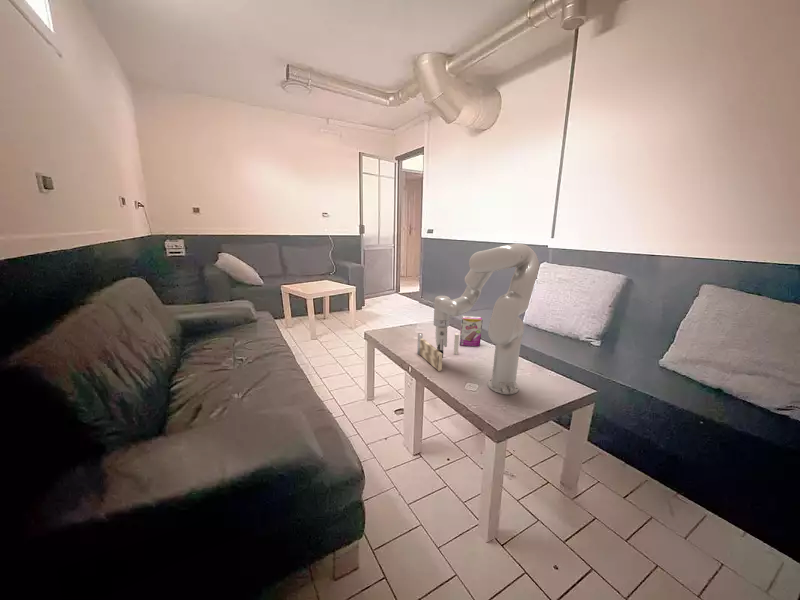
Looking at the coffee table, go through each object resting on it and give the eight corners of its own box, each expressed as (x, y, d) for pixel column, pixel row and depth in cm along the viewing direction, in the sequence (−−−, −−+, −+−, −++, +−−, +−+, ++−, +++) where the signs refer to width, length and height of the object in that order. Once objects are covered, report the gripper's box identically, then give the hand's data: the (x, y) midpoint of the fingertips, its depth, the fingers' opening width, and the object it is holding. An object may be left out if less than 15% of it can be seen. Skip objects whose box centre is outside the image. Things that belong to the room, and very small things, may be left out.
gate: (419, 354, 164) (420, 338, 161) (422, 353, 164) (422, 338, 162) (438, 371, 146) (439, 354, 144) (441, 370, 146) (442, 353, 144)
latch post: (457, 354, 165) (459, 334, 162) (453, 354, 165) (455, 334, 163) (457, 352, 167) (458, 333, 164) (453, 352, 167) (454, 333, 164)
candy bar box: (460, 346, 176) (461, 318, 172) (459, 342, 181) (461, 315, 177) (480, 347, 175) (482, 319, 171) (479, 343, 180) (481, 316, 176)
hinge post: (421, 354, 164) (422, 334, 161) (417, 354, 164) (417, 334, 162) (421, 352, 167) (422, 333, 164) (417, 352, 167) (417, 333, 164)
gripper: (451, 327, 141) (448, 365, 146) (448, 317, 156) (446, 351, 161) (434, 327, 142) (432, 364, 147) (432, 316, 156) (431, 351, 161)
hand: (439, 357), depth 154 cm, fingers closed
